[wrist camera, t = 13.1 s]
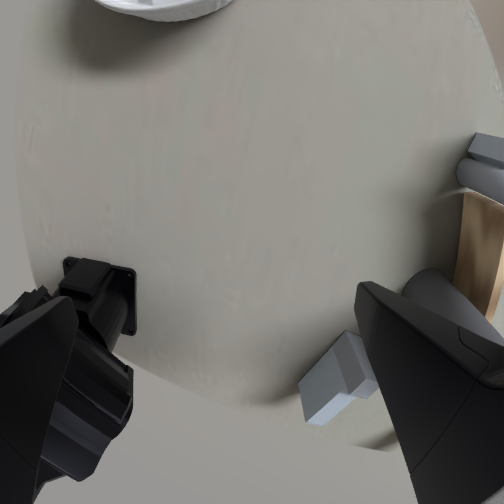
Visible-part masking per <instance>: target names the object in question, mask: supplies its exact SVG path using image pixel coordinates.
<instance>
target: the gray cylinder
mask: <svg viewBox="0 0 504 504" xmlns="http://www.w3.org/2000/svg"><path fill="white" fill-rule="evenodd" d="M402 296H403V297H405V298H407V299H409V300H411V301H413V302H415V303H417V304H419V305H421V306H423V307H425V308H427V309H429V310H431V311H433V312H435V313H437V314H439V315H440V316H442V317H444V318H446V319H448V320H450V321H452V322H454V323H456V324H457V325H458V326H459V325H460V326H462V327H464V328H466V329H468V330H470V331H472V332H474V333H476V334H478V335H480V336H482V337H484V338H486V339H489V340H491V341H493V342H495V343H497V344H500V345H502V346H504V338H503V337H502V336H501V335H500V334H499V333H498V332H497V330H496V329H495V328H494V327H493V326H492V325H491V324H490V323H489V322H488V320H487V319H486V318H485V317H484V316H483V315H482V314H481V313H480V312H479V311H478V310H477V309H476V308H475V306H474V305H473V304H472V303H471V302H470V301H469V300H468V299H467V298H466V297H465V296H464V295H463V294H462V293H461V292H460V291H459V290H458V289H457V288H456V287H455V286H454V285H453V284H452V283H451V282H450V281H449V280H448V279H447V278H446V277H445V276H444V275H443V274H442V273H441V272H440V271H438V270H436V269H425V270H423V271H421V272H419V273H417V274H416V275H415V276H413V277H412V278H411V279H410V281H409V282H408V283H407V285H406V286H405V288H404V290H403V293H402Z"/></svg>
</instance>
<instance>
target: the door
mask: <svg viewBox="0 0 504 504" xmlns="http://www.w3.org/2000/svg"><path fill="white" fill-rule="evenodd" d="M503 282H504V206H502V205H500V204H498V203H496V202H494V201H492V200H490V199H488V198H486V197H484V196H482V195H480V194H478V193H475V192H465V193H464V201H463V214H462V224H461V233H460V241H459V248H458V255H457V262H456V268H455V273H454V279H453V285H454V286H455V287H456V288H457V289H458V290H459V291H460V292H461V293H462V294H463V295H464V296H465V297H466V298H467V299H468V300H469V301H470V302H471V303H472V304H473V305H474V306H475V308H476V309H477V310H478V311H479V312H480V313H481V314H482V315H483V316H484V317H485V318H486V319H487V320H488V322H489V323H490V324H491V322H492V319H493V316H494V313H495V310H496V307H497V303H498V300H499V297H500V293H501V290H502V286H503Z"/></svg>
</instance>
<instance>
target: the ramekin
mask: <svg viewBox="0 0 504 504" xmlns="http://www.w3.org/2000/svg"><path fill="white" fill-rule="evenodd" d="M94 1H96V2H97V3H99V4H100V5H102V6H104V7H106V8H108V9H110V10H113V11H116V12H119V13H124V14H129V15H135V16H138V17H142V18H145V19H147V20H154V21H158V22H160V21H165V22H170V21H181V20H189V19H192V18H197V17H200V16H203V15H207V14H209V13H211V12H214V11H217V10H218V9H220V8H222V7H224V6H226V5H227V4H228V3H230V2H232V1H233V0H94Z"/></svg>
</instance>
